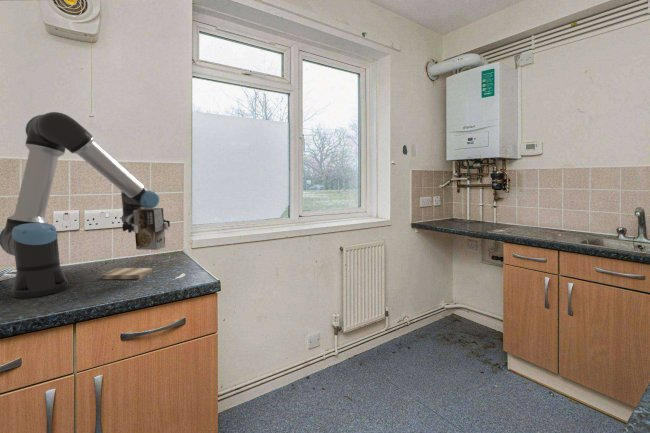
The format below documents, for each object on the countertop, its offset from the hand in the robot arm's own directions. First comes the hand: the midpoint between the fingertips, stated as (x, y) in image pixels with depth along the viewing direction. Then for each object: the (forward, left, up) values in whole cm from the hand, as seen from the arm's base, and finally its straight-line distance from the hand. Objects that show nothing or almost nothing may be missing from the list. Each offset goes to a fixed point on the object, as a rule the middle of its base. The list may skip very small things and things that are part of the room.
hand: (152, 227), depth 132 cm
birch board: (-8, +11, -20) cm, 24 cm away
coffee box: (0, +4, -9) cm, 10 cm away
